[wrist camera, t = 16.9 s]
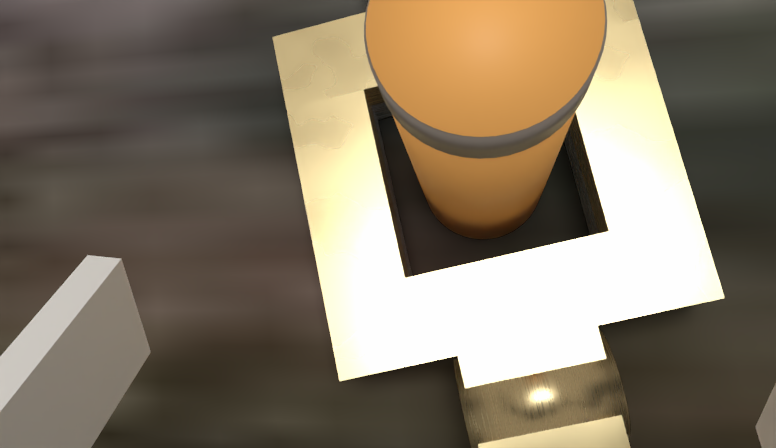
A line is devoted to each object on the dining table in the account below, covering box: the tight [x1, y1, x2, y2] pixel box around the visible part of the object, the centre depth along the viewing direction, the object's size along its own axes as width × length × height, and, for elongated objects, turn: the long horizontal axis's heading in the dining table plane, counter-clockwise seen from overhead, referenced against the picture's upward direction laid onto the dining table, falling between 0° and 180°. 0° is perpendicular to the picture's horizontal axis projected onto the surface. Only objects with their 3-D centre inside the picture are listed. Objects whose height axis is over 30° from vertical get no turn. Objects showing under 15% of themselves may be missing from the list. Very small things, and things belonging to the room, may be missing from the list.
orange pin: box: [364, 0, 607, 239], centre depth 17 cm, size 4×4×12 cm
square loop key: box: [273, 0, 725, 448], centre depth 22 cm, size 11×25×3 cm, turn 12°
